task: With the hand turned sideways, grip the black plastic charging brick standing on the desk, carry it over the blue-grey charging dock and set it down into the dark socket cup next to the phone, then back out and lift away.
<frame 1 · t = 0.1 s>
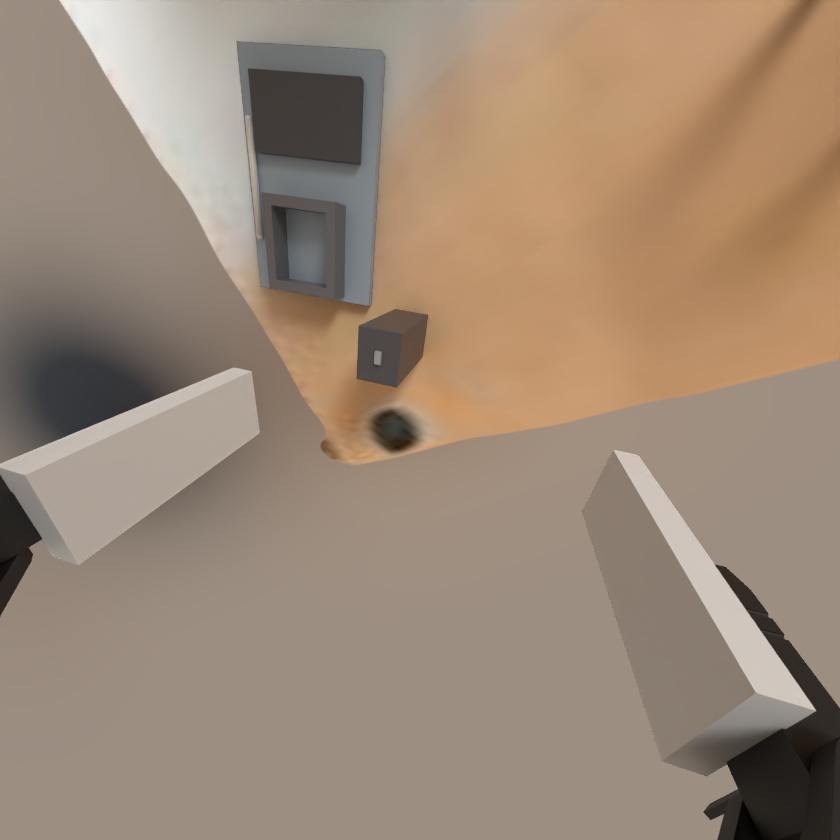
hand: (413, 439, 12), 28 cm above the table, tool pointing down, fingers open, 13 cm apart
charging dock: (315, 191, 34), on the table
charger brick: (409, 333, 38), on the table
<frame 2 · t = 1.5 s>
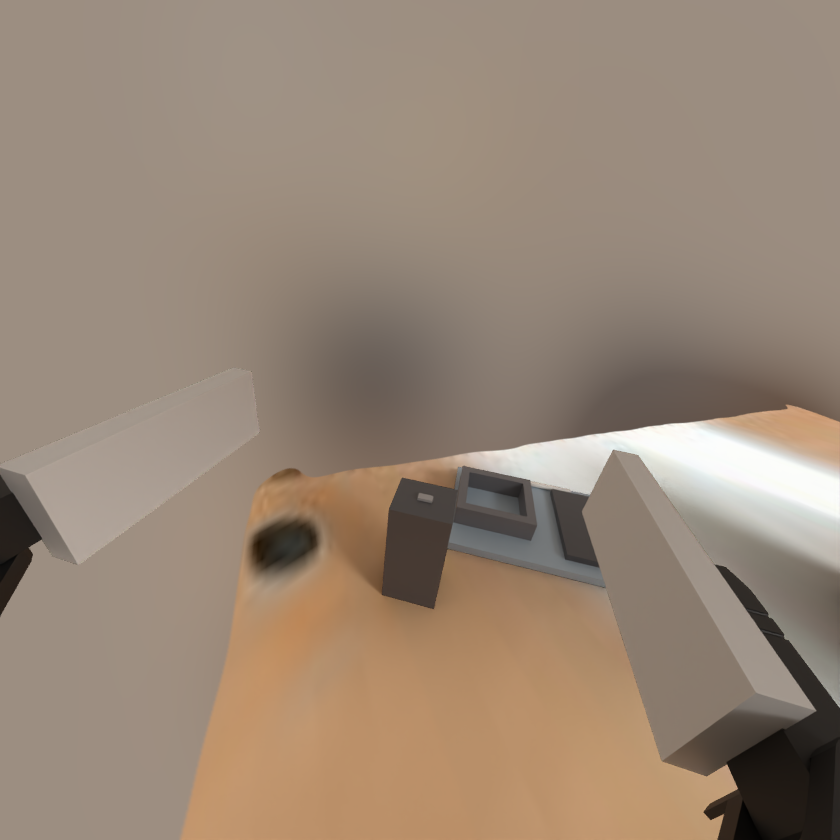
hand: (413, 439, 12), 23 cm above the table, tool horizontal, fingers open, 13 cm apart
charging dock: (533, 523, 40), on the table
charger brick: (412, 582, 31), on the table
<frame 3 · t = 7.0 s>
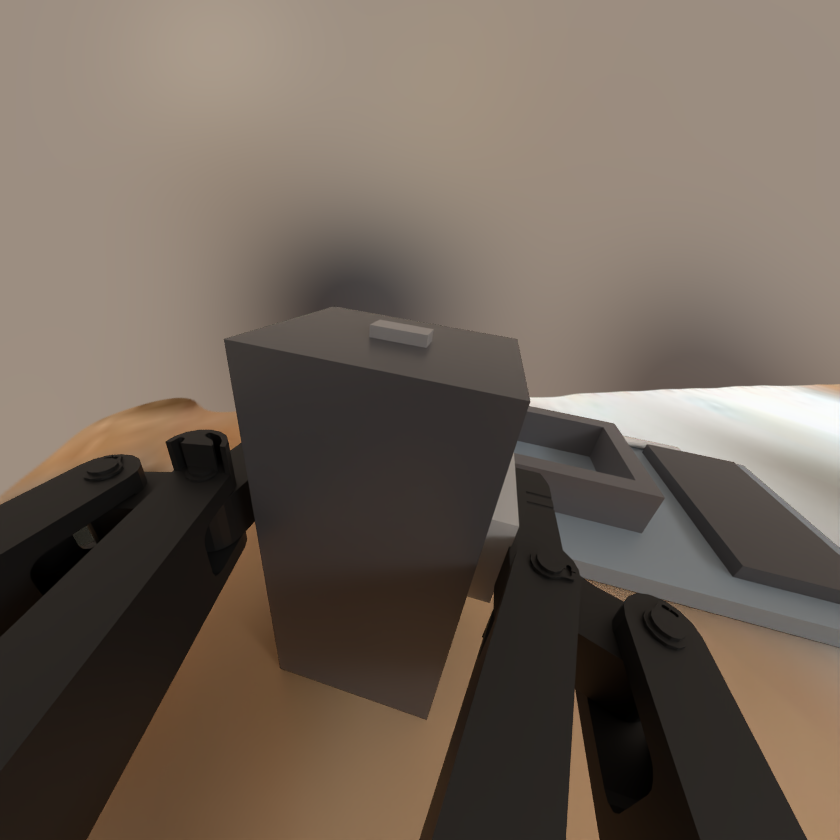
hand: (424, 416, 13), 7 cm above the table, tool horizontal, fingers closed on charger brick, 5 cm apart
charging dock: (627, 501, 21), on the table
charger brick: (372, 629, 12), on the table, touching gripper
when the fingers open (9 cm above the table, at t = 12.3 s): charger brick drops 1 cm, resting on charging dock.
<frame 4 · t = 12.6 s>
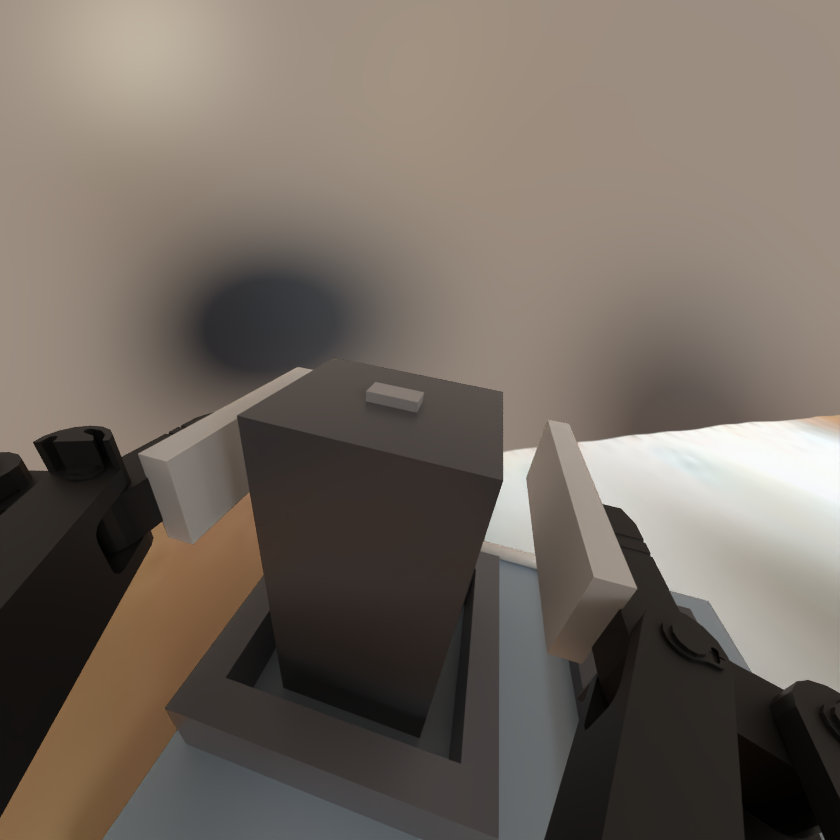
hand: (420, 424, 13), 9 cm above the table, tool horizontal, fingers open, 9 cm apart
charging dock: (502, 707, 12), on the table
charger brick: (370, 649, 13), point 1 cm above the table, touching charging dock
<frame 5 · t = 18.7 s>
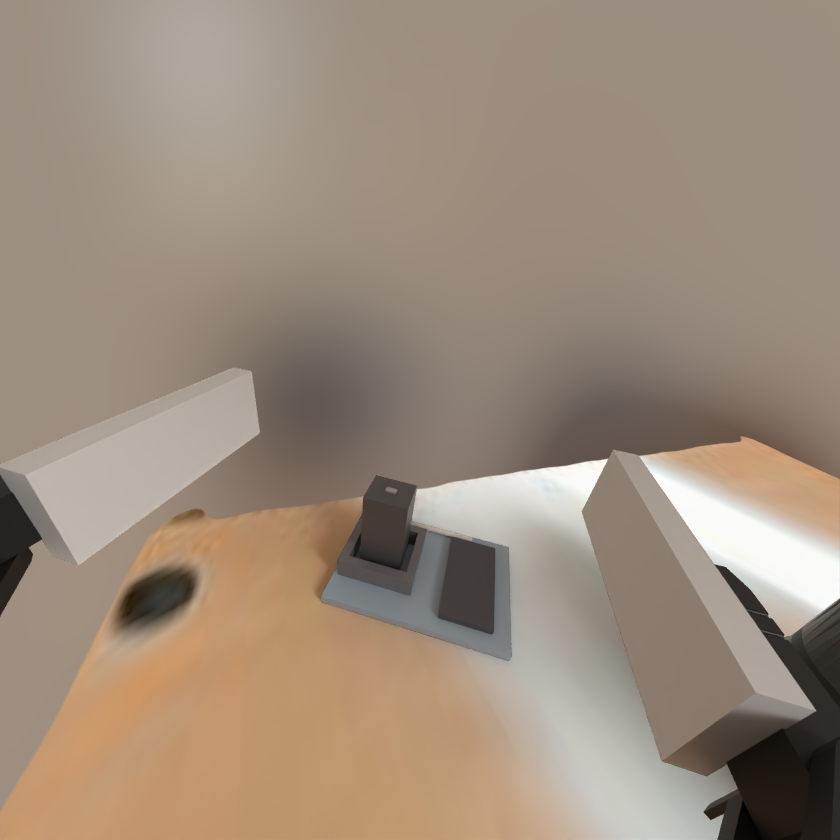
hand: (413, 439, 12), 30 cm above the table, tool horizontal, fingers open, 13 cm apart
charging dock: (424, 573, 40), on the table
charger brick: (384, 556, 41), point 1 cm above the table, touching charging dock
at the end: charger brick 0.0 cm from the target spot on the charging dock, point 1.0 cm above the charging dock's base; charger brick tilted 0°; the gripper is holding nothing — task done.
